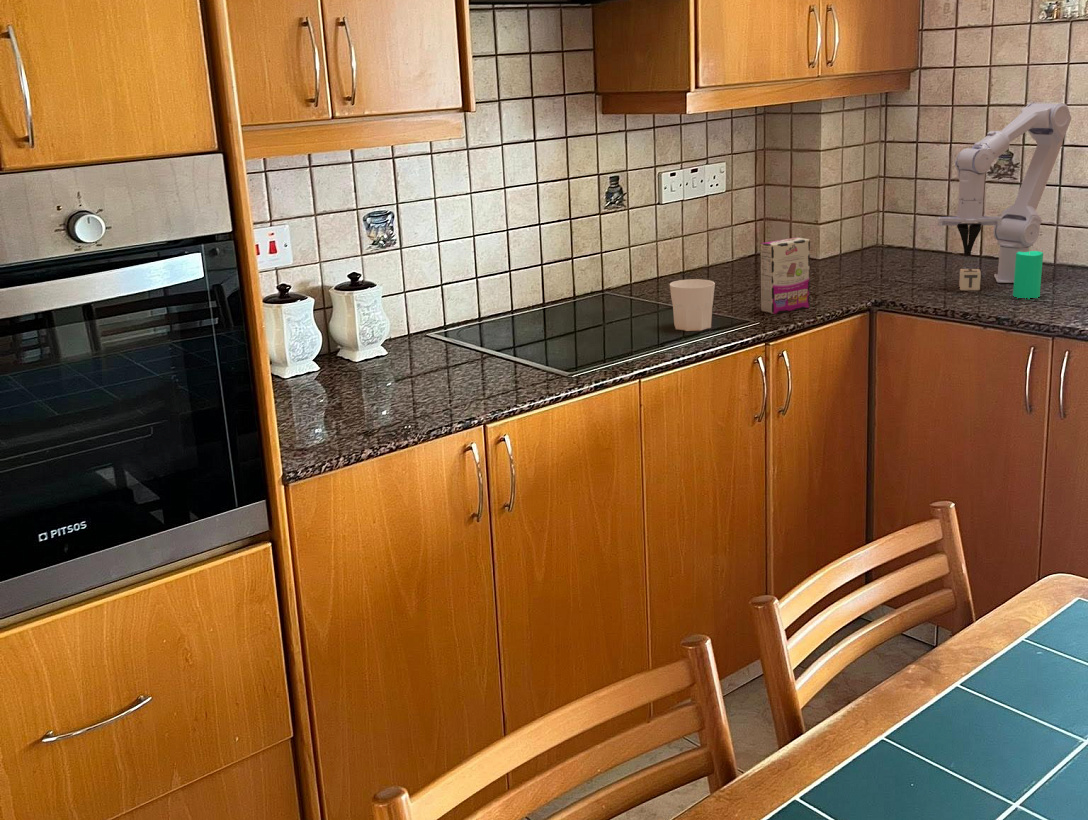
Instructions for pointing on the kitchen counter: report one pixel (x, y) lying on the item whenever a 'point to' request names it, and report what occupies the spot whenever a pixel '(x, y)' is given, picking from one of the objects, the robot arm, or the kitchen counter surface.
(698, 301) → the cup
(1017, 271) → the candle
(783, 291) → the candy bar box
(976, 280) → the letter cube
